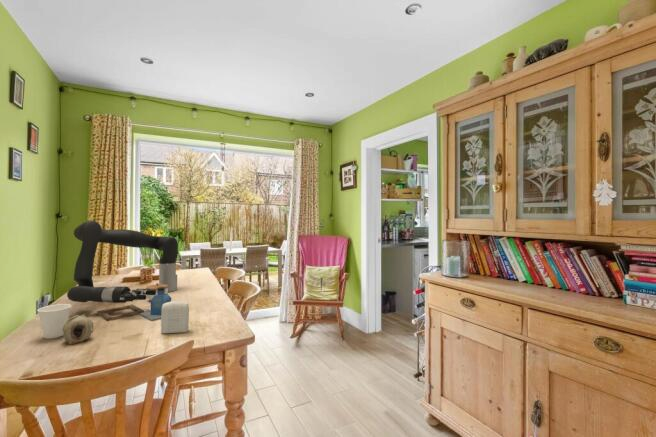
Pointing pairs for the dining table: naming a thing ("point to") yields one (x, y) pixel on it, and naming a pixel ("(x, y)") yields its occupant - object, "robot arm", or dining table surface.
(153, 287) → the lidded jar
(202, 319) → the dining table surface
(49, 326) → the cup
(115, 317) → the walnut collar
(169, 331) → the photo printer
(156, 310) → the perfume bottle
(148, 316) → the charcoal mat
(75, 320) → the hollow beige lump
